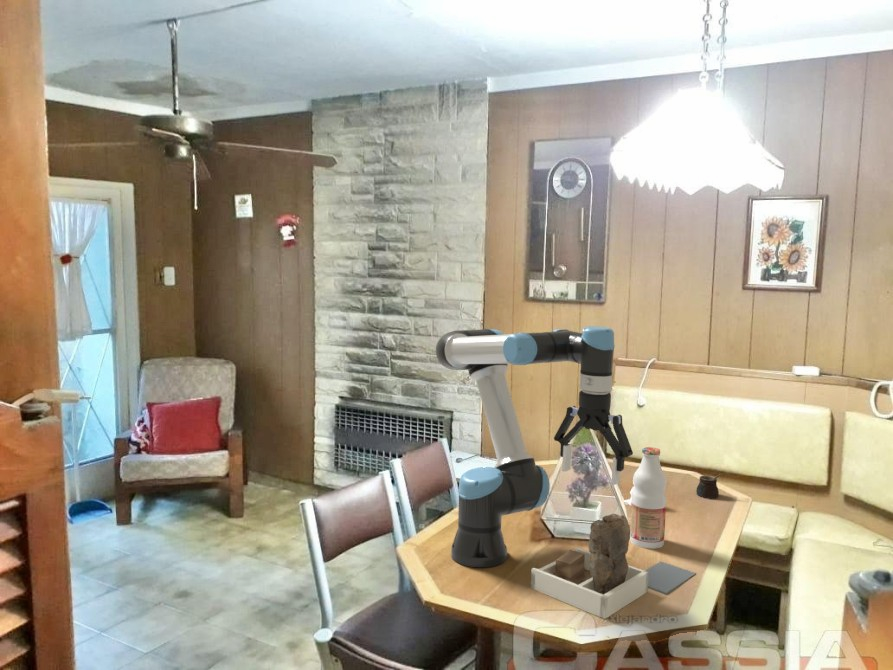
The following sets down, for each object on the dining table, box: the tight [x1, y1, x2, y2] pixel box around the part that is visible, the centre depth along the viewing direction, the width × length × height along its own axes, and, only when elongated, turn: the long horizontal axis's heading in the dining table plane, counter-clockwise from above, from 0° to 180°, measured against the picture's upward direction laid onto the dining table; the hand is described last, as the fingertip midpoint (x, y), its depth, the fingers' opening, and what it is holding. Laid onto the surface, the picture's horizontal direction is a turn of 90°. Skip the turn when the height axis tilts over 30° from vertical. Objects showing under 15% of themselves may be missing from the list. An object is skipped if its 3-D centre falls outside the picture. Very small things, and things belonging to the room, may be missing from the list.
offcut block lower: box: [554, 567, 586, 585], centre depth 178 cm, size 4×8×4 cm, turn 136°
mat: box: [644, 561, 697, 595], centre depth 181 cm, size 10×16×1 cm, turn 135°
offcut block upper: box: [555, 549, 585, 578], centre depth 177 cm, size 4×8×4 cm, turn 144°
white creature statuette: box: [624, 480, 635, 507], centre depth 232 cm, size 10×9×12 cm
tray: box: [530, 546, 649, 620], centre depth 174 cm, size 21×19×5 cm
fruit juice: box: [629, 446, 667, 550], centre depth 202 cm, size 9×9×28 cm
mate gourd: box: [695, 473, 722, 500], centre depth 242 cm, size 7×8×10 cm
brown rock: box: [587, 513, 631, 594], centre depth 169 cm, size 14×5×20 cm, turn 134°
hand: (590, 476), depth 173 cm, fingers open, 13 cm apart
